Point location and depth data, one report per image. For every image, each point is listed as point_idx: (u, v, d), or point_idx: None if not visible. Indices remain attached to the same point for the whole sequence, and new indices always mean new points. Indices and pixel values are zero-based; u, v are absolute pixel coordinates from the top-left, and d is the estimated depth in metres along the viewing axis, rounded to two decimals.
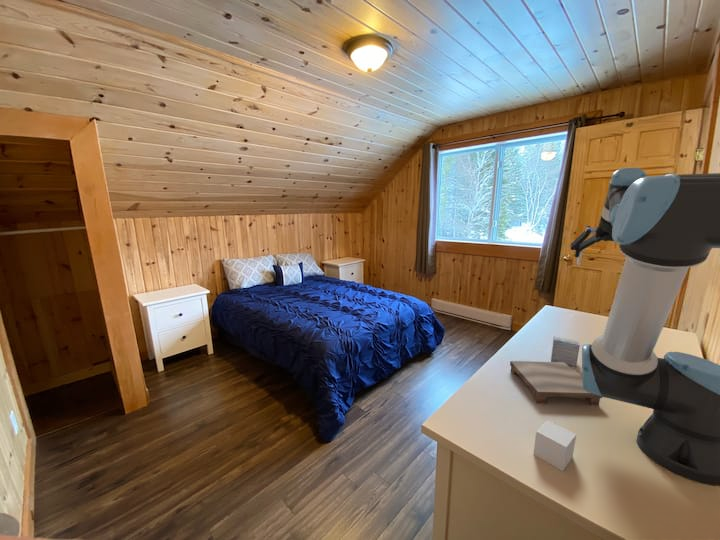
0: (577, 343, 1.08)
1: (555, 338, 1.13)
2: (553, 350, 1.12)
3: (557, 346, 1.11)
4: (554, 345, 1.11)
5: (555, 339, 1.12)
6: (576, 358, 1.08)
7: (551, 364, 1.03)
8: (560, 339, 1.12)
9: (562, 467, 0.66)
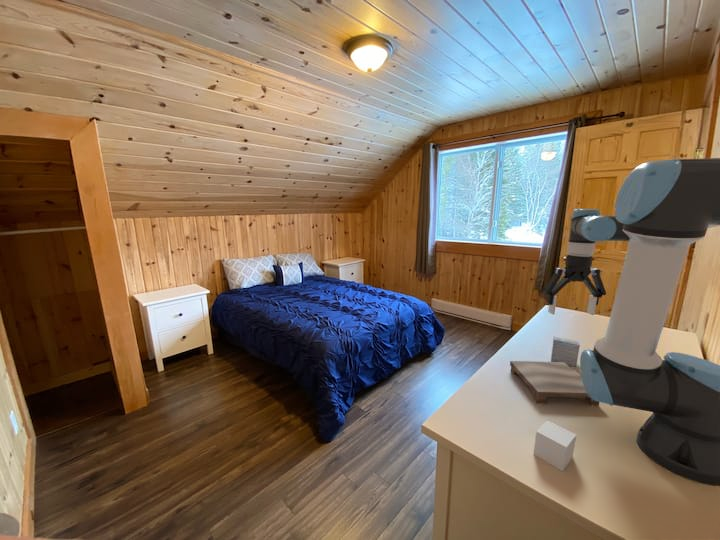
0: (577, 343, 1.08)
1: (555, 338, 1.13)
2: (553, 350, 1.12)
3: (557, 346, 1.11)
4: (554, 345, 1.11)
5: (555, 339, 1.12)
6: (576, 358, 1.08)
7: (551, 364, 1.03)
8: (560, 339, 1.12)
9: (562, 467, 0.66)
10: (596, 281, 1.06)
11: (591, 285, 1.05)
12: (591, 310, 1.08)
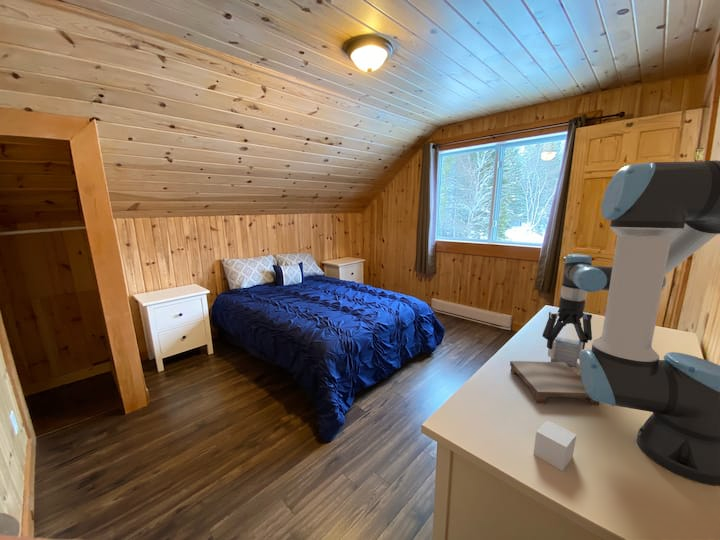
0: (577, 343, 1.08)
1: (555, 338, 1.13)
2: None
3: (557, 346, 1.11)
4: None
5: (555, 339, 1.12)
6: (576, 358, 1.08)
7: (551, 364, 1.03)
8: (560, 338, 1.12)
9: (562, 467, 0.66)
10: (585, 325, 1.09)
11: (580, 329, 1.09)
12: (578, 354, 1.11)
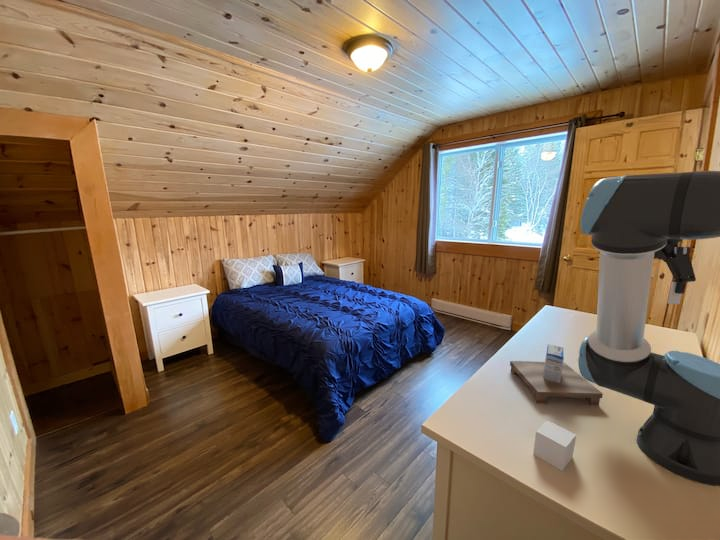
0: (559, 347, 0.96)
1: (556, 354, 0.91)
2: (561, 369, 0.91)
3: (562, 361, 0.91)
4: None
5: (559, 355, 0.91)
6: None
7: None
8: (555, 352, 0.93)
9: (562, 467, 0.66)
10: None
11: None
12: None
